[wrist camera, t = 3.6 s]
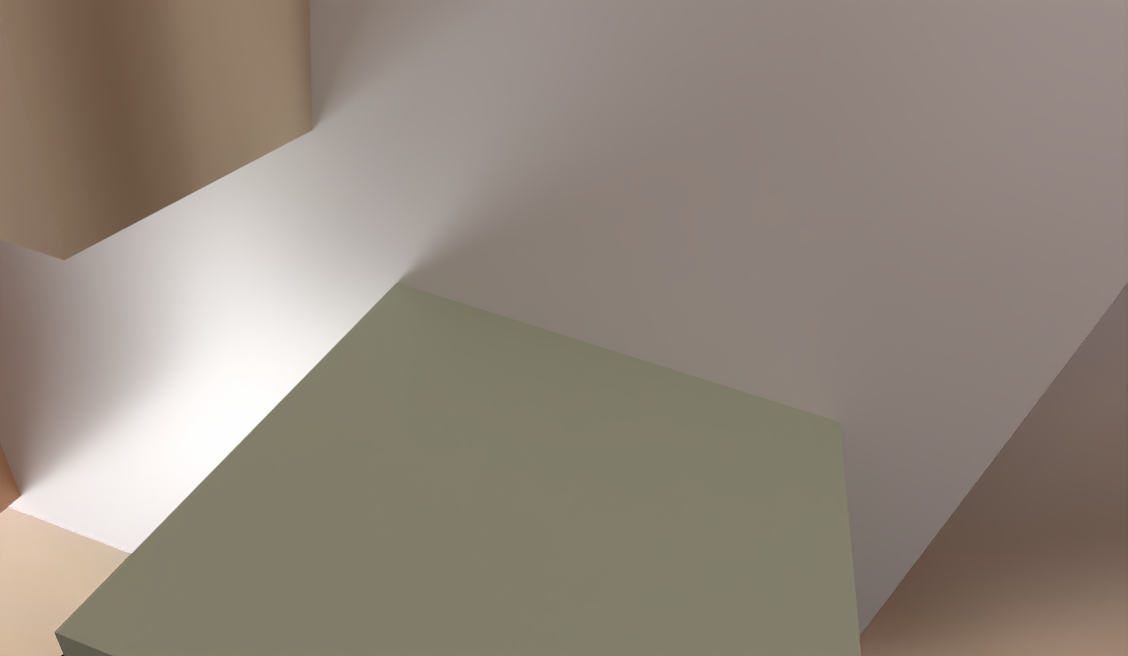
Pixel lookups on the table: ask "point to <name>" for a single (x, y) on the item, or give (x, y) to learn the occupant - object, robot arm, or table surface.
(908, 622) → the table surface
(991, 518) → the table surface
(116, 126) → the foundation slab
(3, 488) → the terracotta block
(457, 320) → the sage block
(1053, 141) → the baseplate
